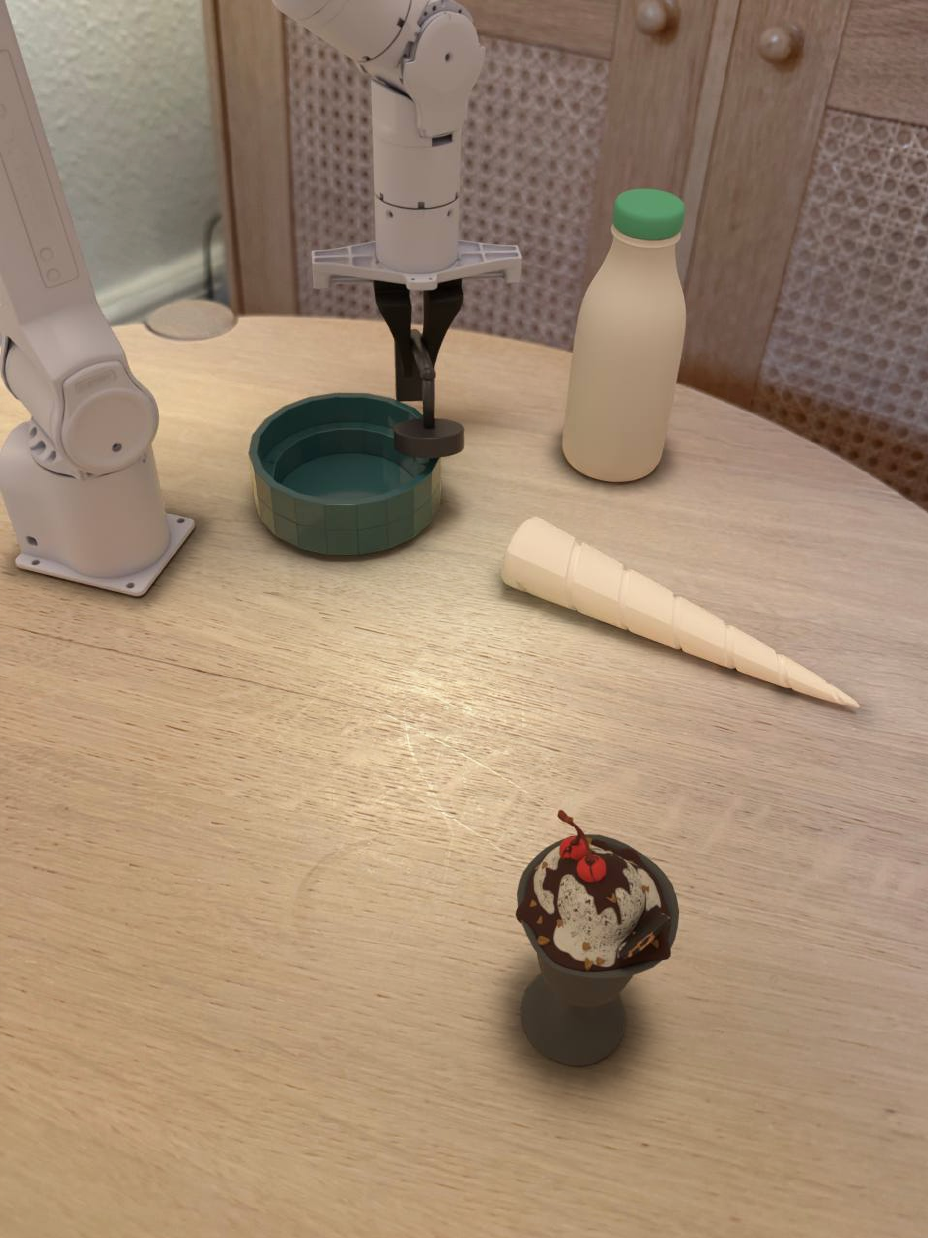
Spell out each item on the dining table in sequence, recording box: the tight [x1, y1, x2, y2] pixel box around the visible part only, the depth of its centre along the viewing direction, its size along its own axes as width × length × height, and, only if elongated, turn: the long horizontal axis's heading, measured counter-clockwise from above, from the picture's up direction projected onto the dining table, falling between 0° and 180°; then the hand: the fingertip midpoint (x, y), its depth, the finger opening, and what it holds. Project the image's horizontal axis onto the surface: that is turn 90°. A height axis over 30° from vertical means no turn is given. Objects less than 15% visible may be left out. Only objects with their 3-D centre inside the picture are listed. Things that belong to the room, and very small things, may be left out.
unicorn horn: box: [500, 516, 861, 708], centre depth 67 cm, size 5×24×5 cm, turn 57°
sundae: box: [515, 809, 680, 1066], centre depth 46 cm, size 7×7×15 cm
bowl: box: [248, 392, 442, 556], centre depth 77 cm, size 13×13×5 cm
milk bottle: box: [561, 188, 687, 483], centre depth 77 cm, size 8×8×20 cm
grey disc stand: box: [393, 328, 465, 459], centre depth 77 cm, size 15×5×6 cm, turn 7°
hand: (416, 369), depth 81 cm, fingers closed on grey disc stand
